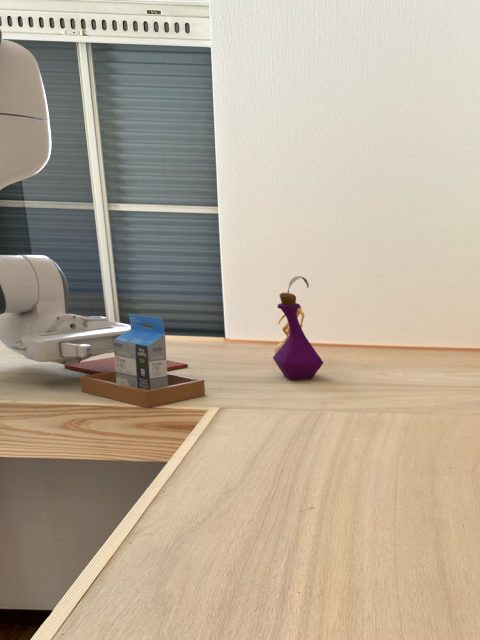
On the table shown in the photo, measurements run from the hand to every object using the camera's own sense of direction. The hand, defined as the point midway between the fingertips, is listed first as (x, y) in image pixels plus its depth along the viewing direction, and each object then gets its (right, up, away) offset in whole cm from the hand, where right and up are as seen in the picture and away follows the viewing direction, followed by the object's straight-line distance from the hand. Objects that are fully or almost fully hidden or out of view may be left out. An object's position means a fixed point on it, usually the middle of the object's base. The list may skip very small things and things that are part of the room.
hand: (112, 348), depth 121 cm
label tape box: (+6, -8, -1) cm, 10 cm away
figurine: (+26, +4, +29) cm, 39 cm away
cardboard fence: (+6, -8, -1) cm, 10 cm away
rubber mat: (-4, 0, +18) cm, 19 cm away
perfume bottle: (+29, -2, +14) cm, 33 cm away
